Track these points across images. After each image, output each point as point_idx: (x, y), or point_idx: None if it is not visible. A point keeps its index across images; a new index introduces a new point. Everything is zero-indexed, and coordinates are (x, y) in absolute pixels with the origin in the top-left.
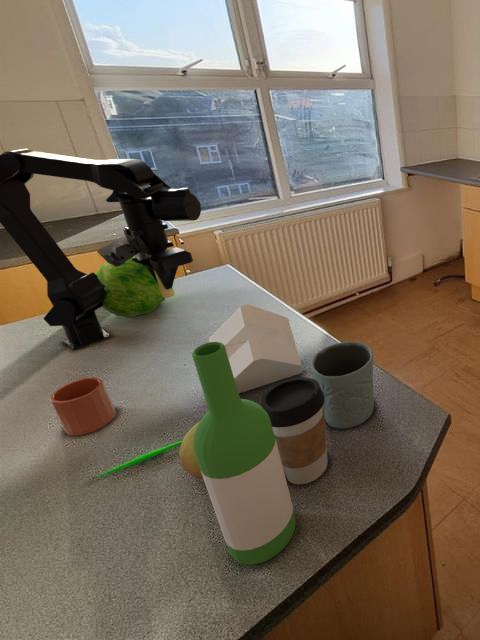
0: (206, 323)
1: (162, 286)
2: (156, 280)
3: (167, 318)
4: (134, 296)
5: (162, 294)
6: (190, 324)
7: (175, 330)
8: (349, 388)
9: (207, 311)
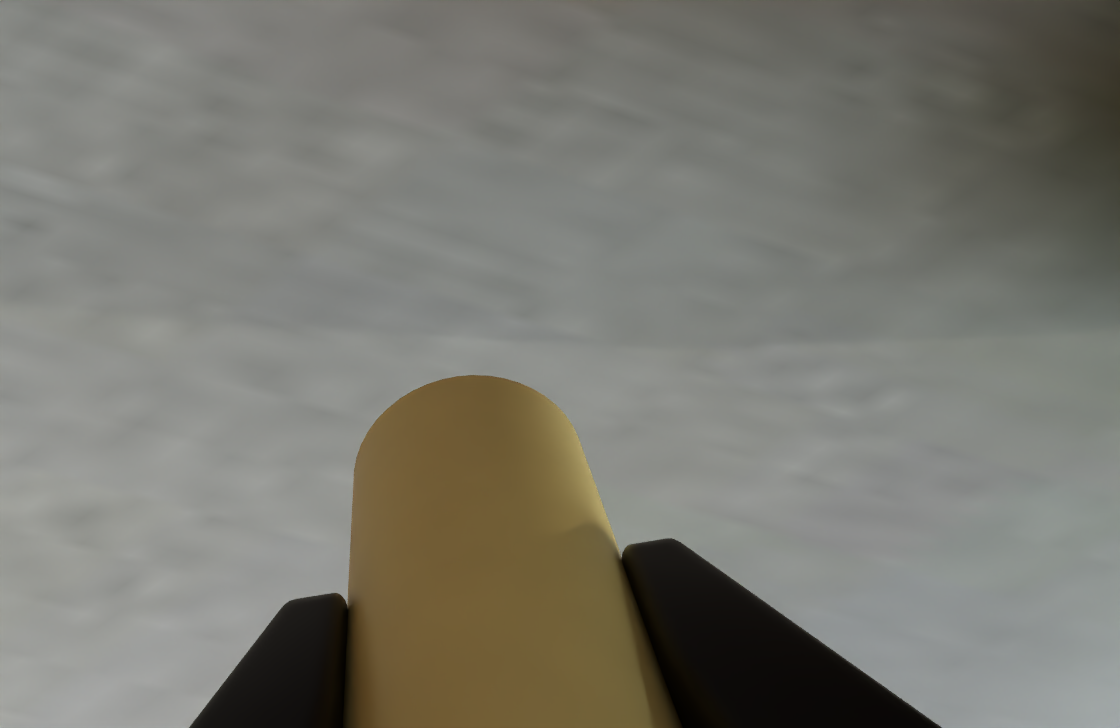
0: None
1: (389, 613)
2: (714, 665)
3: (960, 217)
4: None
5: (449, 417)
6: (604, 327)
7: (600, 178)
8: None
9: (745, 518)
